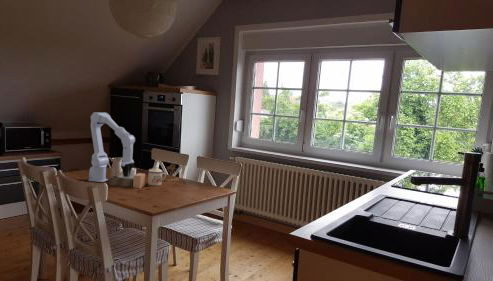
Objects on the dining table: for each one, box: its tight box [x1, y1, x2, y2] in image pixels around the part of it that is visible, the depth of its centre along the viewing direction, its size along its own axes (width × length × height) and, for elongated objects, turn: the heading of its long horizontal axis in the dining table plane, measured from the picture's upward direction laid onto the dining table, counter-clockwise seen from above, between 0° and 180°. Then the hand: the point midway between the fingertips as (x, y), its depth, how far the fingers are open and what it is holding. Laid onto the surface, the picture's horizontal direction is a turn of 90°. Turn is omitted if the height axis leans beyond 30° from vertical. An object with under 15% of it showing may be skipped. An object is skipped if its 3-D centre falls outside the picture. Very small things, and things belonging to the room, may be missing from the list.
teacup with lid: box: [147, 166, 167, 187], centre depth 227 cm, size 12×9×12 cm
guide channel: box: [108, 175, 133, 188], centre depth 218 cm, size 15×6×4 cm, turn 86°
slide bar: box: [117, 170, 134, 180], centre depth 217 cm, size 14×3×7 cm, turn 86°
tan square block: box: [132, 172, 146, 189], centre depth 217 cm, size 4×8×8 cm, turn 176°
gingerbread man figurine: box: [164, 163, 180, 183], centre depth 241 cm, size 9×4×12 cm, turn 129°
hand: (126, 175), depth 218 cm, fingers closed on slide bar, 3 cm apart
